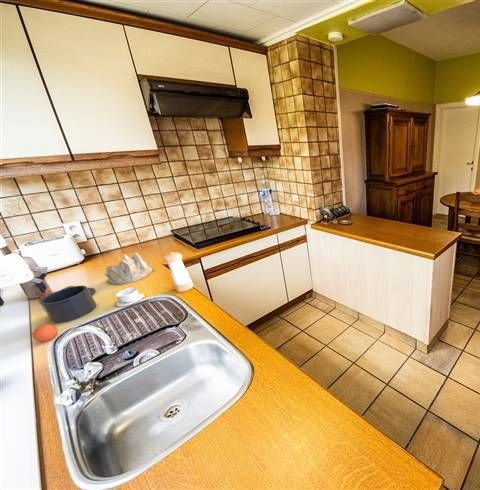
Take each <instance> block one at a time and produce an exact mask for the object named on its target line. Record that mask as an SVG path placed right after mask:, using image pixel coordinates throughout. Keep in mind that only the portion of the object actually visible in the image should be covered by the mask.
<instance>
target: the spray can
mask: <svg viewBox="0 0 480 490" xmlns="http://www.w3.org/2000/svg"><path fill="white" fill-rule="evenodd" d="M20 257H21V258H22V259H23V260H24V261H25V262H26V263H27V264H28V266H31V267H39V264H38V263H37V262H36V261H35V260H34V259H33V257H31V256H20ZM33 273H34V275H35V276H38V277H39V276H40V275H41V273H42V272H41V271H33ZM43 282H44V284H47V285H48V286H49V289H50V290H51V292H52V293H53V290H52V288H51V286H50V284H49V282H48V281H47V279H46V277H45V278H44V279H43ZM18 285H19V286H20V288H21V289H22V291H23V292H24V294H25V296H26V297H27V299H28V300H34V299H38V298H40V296H39V295H38V293H37V292H36V290H35V289H34V288H33V287H32V286H33V285H35V284H34V283H33V281H28V282H25V283H21V284H18Z"/></svg>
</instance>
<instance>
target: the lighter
mask: <svg viewBox="0 0 480 490" xmlns="http://www.w3.org/2000/svg"><path fill="white" fill-rule="evenodd" d="M33 283H34V284H35V285H33V286H32V287H33V288H34V289H35V290H36V292H37V293H38V295H39V296H40V297H39V299H40V301H41V300H42V299H43V298H44V297H46V296H48V295H50V294H52V293H53V291H52V289H51V290H50V289H49V287H50V285H49V284H48V285H49V286H48V285H47V284H45V285H46V287H47V289H45V290H46V291H45V293H42V292H41V291H40V289H39V288H38V286H37V285H36V282H34V281H33ZM51 291H52V292H51Z"/></svg>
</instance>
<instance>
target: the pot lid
mask: <svg viewBox="0 0 480 490" xmlns="http://www.w3.org/2000/svg"><path fill="white" fill-rule="evenodd" d="M74 286H75V285H69V286H68V285H67V286H66V287H65V288H67V287H74ZM87 288H88V290H89V292H90V293H91V295H92V296H93V295H94V294H95V293H96V291H97V290H96V288H94V287H87Z"/></svg>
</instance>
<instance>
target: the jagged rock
mask: <svg viewBox="0 0 480 490" xmlns="http://www.w3.org/2000/svg"><path fill="white" fill-rule="evenodd" d="M153 271H154V270H153V268H152V267H151V265H150V266H149V265H148V263H147V260H145V259H144V258H142V257H141V255H140V254H139V253H138V252H134V253H133V256H129V255H128V254H126V253H123V254H122V259H121V260H120V262H119V263H118V264H116V265H114V266H113V265H112V264H110V265H108V267H107V268H106V270H105V272H104V276H105V277H107V279H108V282H109V284H112V285H123V284H129V283H133V282H136V281H139V280H142V279H143V278H145V277H146V276H148V275H149V274H151V273H152V272H153Z"/></svg>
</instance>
